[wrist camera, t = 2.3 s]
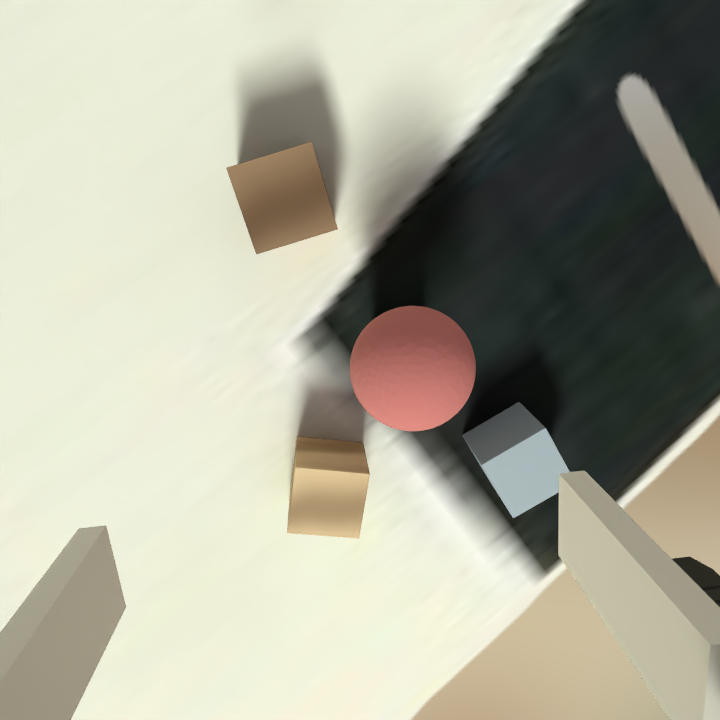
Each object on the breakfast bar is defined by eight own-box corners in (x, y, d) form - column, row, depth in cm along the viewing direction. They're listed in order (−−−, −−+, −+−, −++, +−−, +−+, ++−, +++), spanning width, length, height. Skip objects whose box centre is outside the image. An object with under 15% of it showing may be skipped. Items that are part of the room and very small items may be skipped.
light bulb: (322, 319, 39) (328, 370, 28) (408, 263, 39) (451, 293, 27) (374, 397, 41) (400, 476, 30) (457, 346, 41) (516, 406, 29)
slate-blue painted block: (462, 434, 43) (481, 465, 38) (518, 401, 43) (545, 427, 38) (491, 483, 44) (513, 518, 40) (546, 451, 44) (575, 482, 39)
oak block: (296, 435, 42) (295, 467, 37) (362, 442, 42) (369, 474, 38) (289, 495, 43) (287, 533, 38) (353, 500, 44) (358, 538, 39)
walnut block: (237, 171, 36) (226, 167, 31) (311, 148, 36) (311, 141, 31) (262, 246, 38) (256, 254, 33) (333, 224, 38) (337, 229, 33)
